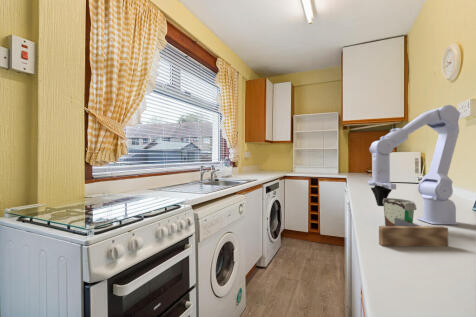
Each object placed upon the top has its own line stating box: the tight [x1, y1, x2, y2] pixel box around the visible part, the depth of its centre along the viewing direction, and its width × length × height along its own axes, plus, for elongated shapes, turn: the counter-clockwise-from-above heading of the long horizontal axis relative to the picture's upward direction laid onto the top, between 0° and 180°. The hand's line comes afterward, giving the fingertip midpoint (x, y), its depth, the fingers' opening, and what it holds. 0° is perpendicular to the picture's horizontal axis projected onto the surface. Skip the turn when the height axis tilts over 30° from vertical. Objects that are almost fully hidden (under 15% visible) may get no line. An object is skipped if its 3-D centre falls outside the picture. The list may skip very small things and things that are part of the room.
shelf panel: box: [378, 225, 449, 247], centre depth 64 cm, size 18×2×5 cm, turn 90°
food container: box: [383, 197, 417, 226], centre depth 78 cm, size 12×6×10 cm, turn 179°
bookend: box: [395, 218, 420, 226], centre depth 70 cm, size 6×10×5 cm, turn 0°
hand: (381, 205), depth 90 cm, fingers closed
